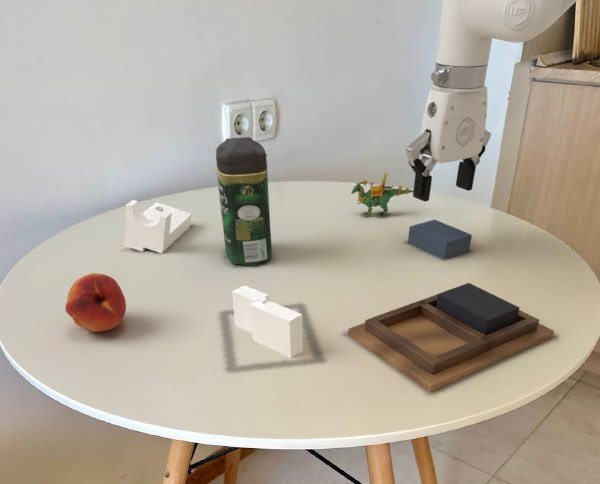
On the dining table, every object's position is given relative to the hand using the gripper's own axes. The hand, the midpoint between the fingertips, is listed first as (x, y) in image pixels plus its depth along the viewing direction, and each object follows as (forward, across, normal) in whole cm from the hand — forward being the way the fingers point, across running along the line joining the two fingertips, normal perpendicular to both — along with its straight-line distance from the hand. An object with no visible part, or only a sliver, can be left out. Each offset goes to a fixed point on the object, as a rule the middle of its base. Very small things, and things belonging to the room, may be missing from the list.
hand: (442, 193), depth 98 cm
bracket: (+10, -38, +32) cm, 50 cm away
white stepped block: (+10, -40, -10) cm, 42 cm away
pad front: (+9, 0, 0) cm, 9 cm away
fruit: (+10, -58, +6) cm, 59 cm away
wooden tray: (+9, -20, -24) cm, 32 cm away
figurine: (+10, +2, +18) cm, 20 cm away
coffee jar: (+10, -29, +16) cm, 34 cm away
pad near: (+8, -15, -24) cm, 29 cm away
